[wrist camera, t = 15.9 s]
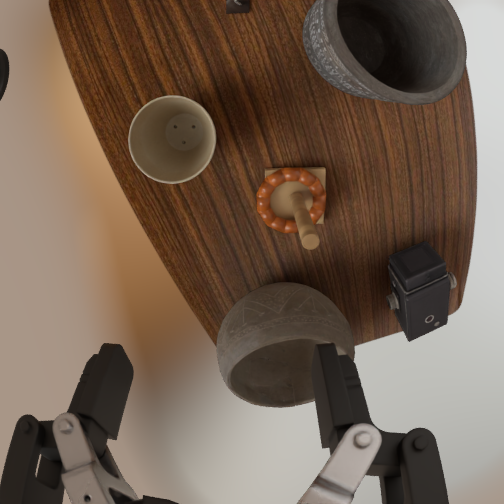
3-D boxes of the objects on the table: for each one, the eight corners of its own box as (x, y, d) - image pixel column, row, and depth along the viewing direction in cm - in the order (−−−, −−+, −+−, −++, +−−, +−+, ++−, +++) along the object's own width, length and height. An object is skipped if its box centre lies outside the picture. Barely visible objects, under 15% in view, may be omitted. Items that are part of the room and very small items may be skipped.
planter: (297, 92, 32) (324, 93, 19) (295, -7, 25) (318, -55, 12) (399, 103, 32) (465, 119, 19) (398, 11, 24) (461, -11, 12)
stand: (267, 222, 42) (271, 277, 31) (264, 168, 37) (268, 206, 26) (322, 220, 41) (345, 272, 30) (324, 167, 37) (353, 203, 26)
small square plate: (226, 13, 26) (224, 11, 25) (226, -5, 25) (224, -8, 24) (249, 12, 26) (248, 10, 25) (249, -7, 25) (248, -10, 24)
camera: (428, 282, 49) (426, 222, 40) (454, 326, 40) (463, 267, 31) (381, 303, 51) (369, 246, 43) (402, 351, 42) (398, 297, 34)
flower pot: (238, 136, 35) (235, 147, 29) (180, 181, 38) (166, 200, 32) (191, 78, 31) (176, 76, 25) (135, 128, 34) (112, 137, 28)
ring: (258, 230, 41) (258, 236, 40) (255, 166, 36) (255, 170, 35) (322, 228, 41) (324, 234, 39) (325, 165, 36) (328, 169, 35)
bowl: (362, 291, 48) (389, 357, 36) (295, 358, 58) (302, 420, 45) (260, 238, 43) (261, 308, 30) (203, 324, 53) (191, 392, 40)
